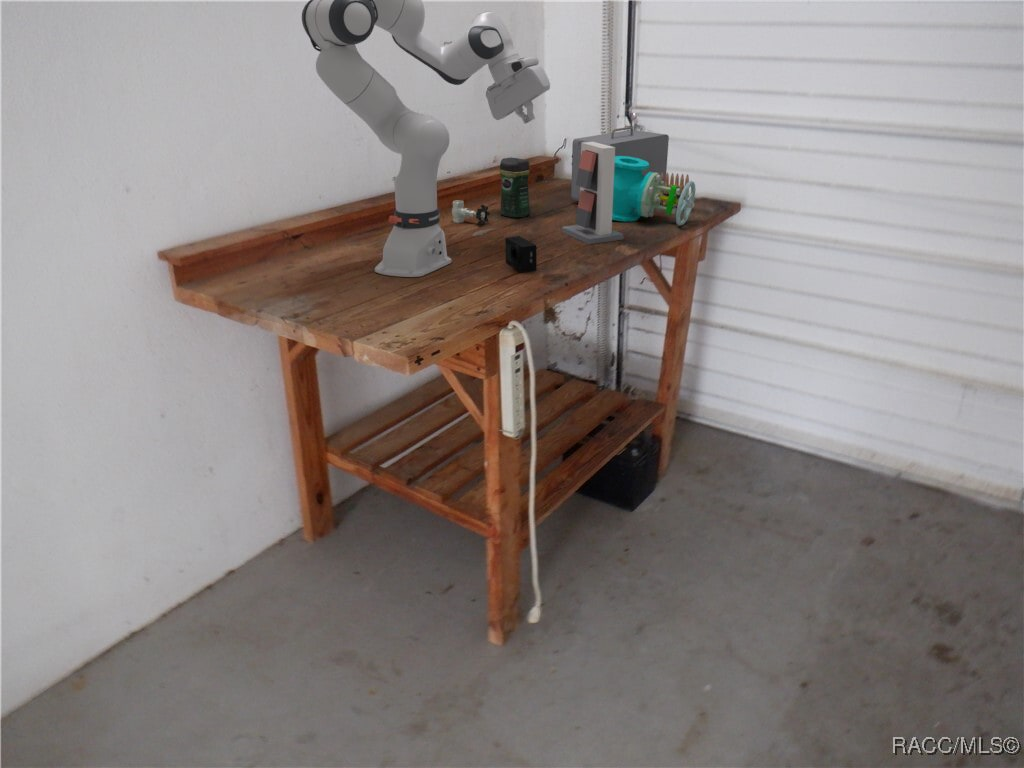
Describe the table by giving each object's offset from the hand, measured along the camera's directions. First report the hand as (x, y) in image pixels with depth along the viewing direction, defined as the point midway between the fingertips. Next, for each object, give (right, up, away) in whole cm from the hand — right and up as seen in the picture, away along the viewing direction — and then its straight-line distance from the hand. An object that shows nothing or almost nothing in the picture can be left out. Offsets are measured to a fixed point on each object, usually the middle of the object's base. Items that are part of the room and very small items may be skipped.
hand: (529, 121), depth 223 cm
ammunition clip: (+50, -12, +54) cm, 75 cm away
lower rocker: (+16, -25, +21) cm, 36 cm away
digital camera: (-3, -41, -4) cm, 41 cm away
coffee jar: (-4, -16, +48) cm, 50 cm away
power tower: (+18, -27, +23) cm, 40 cm away
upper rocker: (+16, -14, +16) cm, 26 cm away
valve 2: (+38, -20, +40) cm, 59 cm away
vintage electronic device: (+32, -7, +67) cm, 74 cm away
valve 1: (-19, -20, +39) cm, 48 cm away
